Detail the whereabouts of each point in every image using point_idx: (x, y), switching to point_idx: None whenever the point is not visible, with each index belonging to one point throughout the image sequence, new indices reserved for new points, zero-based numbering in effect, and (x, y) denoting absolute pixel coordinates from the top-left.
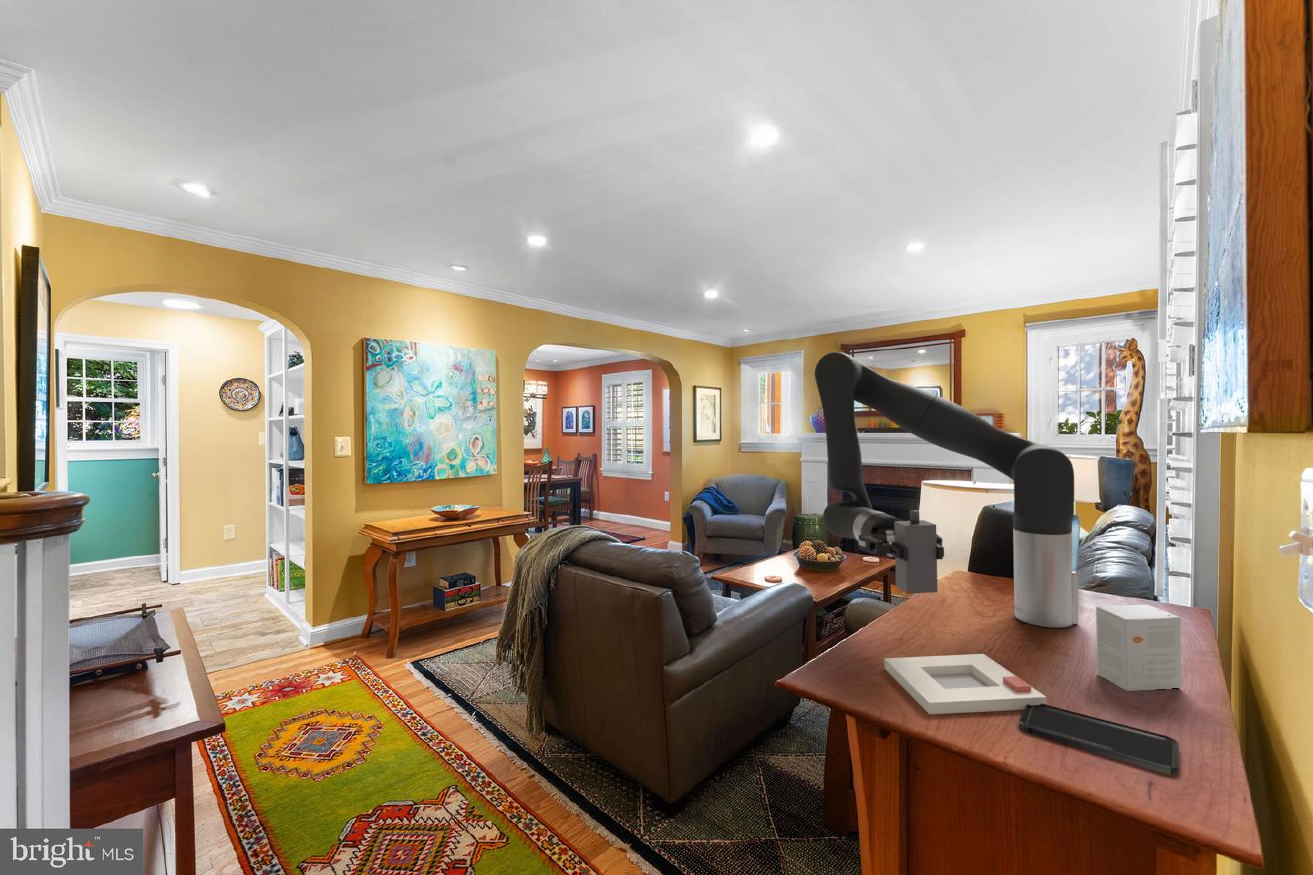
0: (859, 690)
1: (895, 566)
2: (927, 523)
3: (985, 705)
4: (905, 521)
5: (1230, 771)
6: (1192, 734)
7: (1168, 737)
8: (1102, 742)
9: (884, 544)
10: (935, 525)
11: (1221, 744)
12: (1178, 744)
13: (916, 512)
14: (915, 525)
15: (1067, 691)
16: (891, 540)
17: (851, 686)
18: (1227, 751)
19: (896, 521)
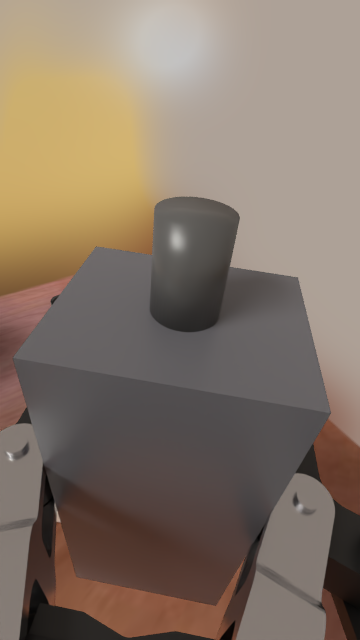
0: (337, 482)
1: (233, 575)
2: (113, 276)
3: None
4: (222, 373)
5: (57, 281)
6: (10, 308)
7: (52, 301)
8: None
9: (351, 524)
10: (100, 251)
11: (10, 296)
12: (58, 295)
13: (201, 205)
14: (229, 268)
15: (16, 393)
16: (307, 496)
17: (350, 500)
18: (20, 291)
19: (310, 403)
